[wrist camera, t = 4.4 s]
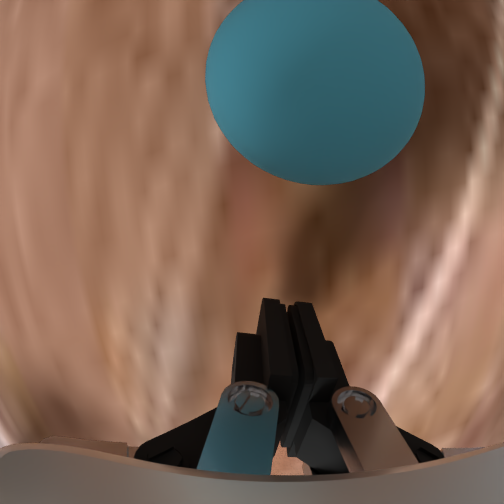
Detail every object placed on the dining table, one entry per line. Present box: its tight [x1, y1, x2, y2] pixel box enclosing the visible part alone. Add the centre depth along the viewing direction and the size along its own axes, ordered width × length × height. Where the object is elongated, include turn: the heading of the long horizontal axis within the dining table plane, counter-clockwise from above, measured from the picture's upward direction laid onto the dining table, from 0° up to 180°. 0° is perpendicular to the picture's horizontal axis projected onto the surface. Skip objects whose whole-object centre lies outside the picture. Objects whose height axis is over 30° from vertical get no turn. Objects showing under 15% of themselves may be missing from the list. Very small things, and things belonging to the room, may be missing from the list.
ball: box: [205, 0, 425, 185], centre depth 7 cm, size 6×6×6 cm
